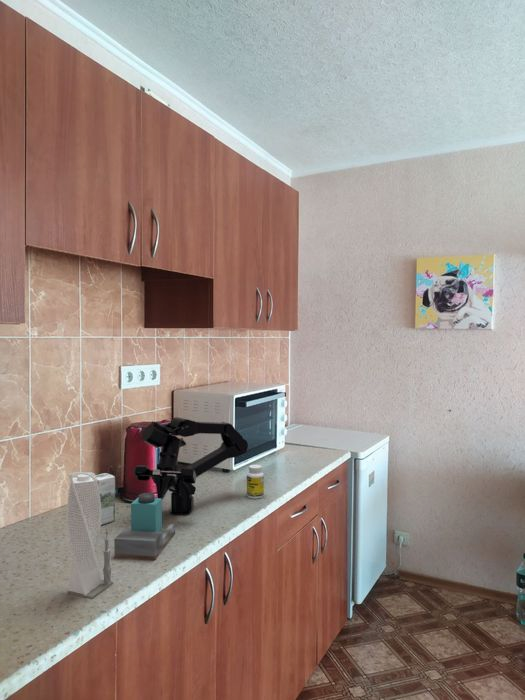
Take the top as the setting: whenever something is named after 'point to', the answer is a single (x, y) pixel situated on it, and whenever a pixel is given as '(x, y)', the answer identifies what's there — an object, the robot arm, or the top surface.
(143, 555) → the mount
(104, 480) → the syrup box
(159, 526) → the teal tall block
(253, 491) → the pill bottle
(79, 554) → the skyscraper
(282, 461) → the top surface
